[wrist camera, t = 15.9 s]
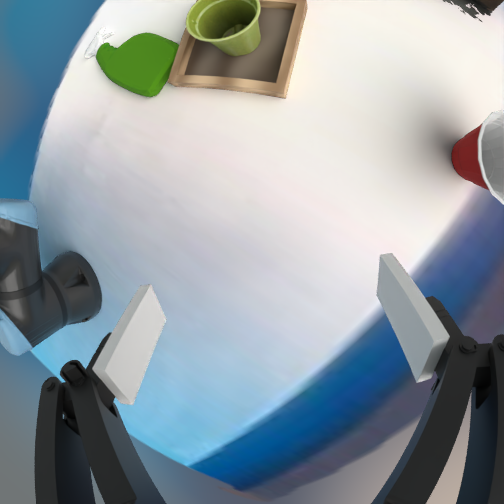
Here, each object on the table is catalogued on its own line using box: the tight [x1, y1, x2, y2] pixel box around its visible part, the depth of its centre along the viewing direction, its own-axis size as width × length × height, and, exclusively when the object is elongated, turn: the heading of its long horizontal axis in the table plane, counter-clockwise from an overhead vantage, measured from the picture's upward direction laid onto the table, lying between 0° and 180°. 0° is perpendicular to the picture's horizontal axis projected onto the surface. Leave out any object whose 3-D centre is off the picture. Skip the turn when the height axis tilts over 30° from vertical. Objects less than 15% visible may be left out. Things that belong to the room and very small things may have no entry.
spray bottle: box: [84, 27, 179, 97], centre depth 34 cm, size 3×11×24 cm
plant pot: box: [186, 0, 261, 56], centre depth 27 cm, size 9×9×9 cm
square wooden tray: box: [168, 0, 307, 98], centre depth 30 cm, size 17×17×2 cm
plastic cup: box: [452, 110, 504, 205], centre depth 23 cm, size 11×11×12 cm
